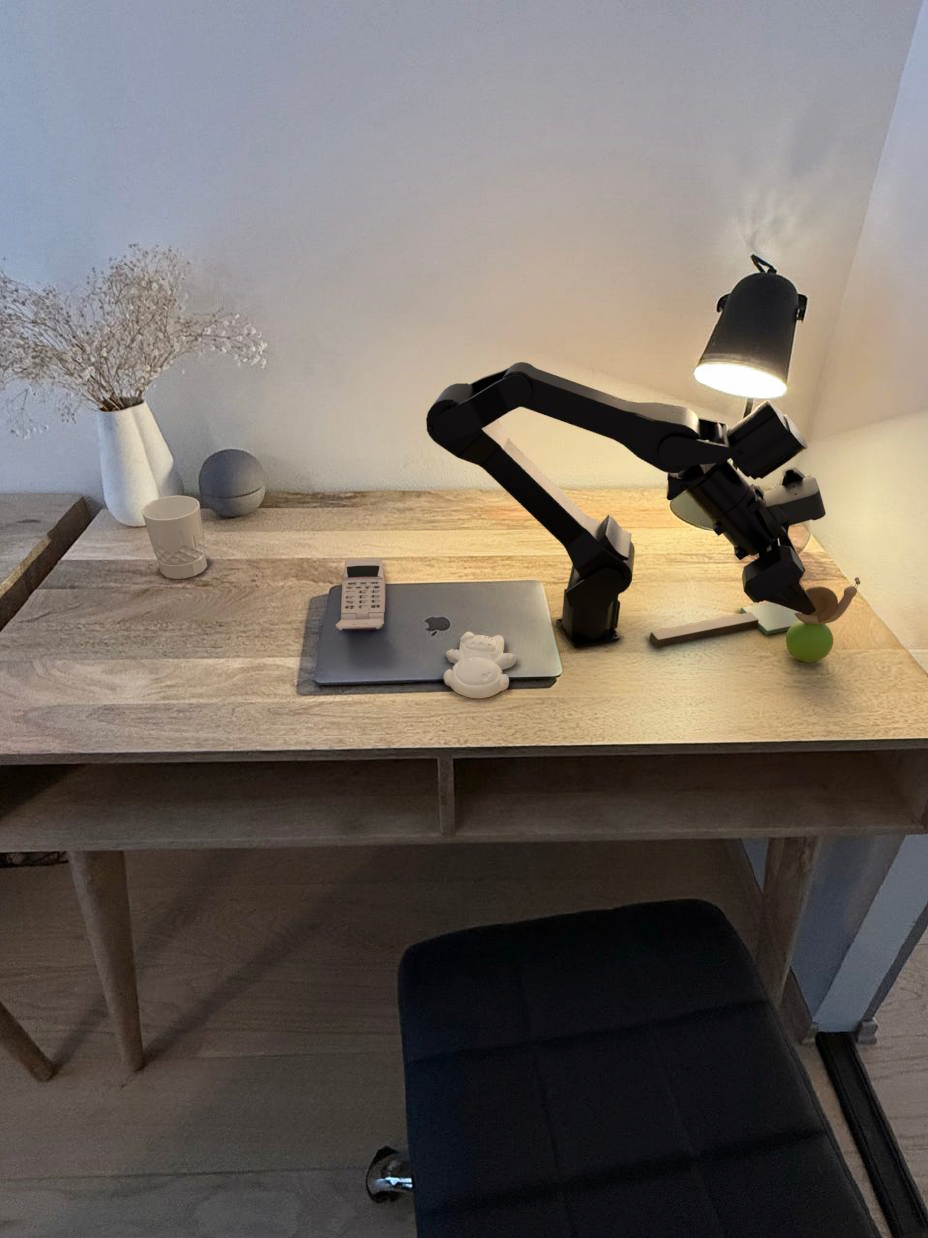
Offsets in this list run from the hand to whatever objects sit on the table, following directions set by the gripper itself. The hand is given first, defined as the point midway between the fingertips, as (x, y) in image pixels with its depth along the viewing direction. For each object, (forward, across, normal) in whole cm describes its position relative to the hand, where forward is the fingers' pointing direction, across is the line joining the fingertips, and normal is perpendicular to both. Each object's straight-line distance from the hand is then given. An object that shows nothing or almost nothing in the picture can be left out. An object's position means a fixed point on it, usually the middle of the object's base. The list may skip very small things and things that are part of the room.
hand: (807, 592), depth 99 cm
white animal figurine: (-20, -10, +34) cm, 41 cm away
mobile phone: (-33, -1, +46) cm, 57 cm away
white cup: (-54, +5, +67) cm, 86 cm away
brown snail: (+8, 0, +5) cm, 10 cm away
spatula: (+1, +5, +12) cm, 13 cm away
